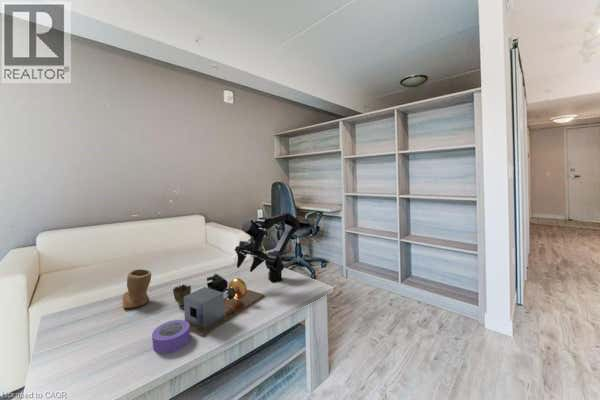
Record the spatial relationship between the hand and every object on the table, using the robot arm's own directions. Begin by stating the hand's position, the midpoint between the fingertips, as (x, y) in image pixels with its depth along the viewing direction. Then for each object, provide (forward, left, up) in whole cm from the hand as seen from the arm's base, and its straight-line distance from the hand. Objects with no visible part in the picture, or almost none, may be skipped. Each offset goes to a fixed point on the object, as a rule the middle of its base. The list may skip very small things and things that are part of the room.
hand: (243, 269), depth 124 cm
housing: (+11, +9, -13) cm, 19 cm away
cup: (+27, -5, -13) cm, 31 cm away
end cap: (+10, -13, -13) cm, 21 cm away
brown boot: (+45, -19, -13) cm, 51 cm away
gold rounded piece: (+11, +9, -11) cm, 18 cm away
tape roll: (+33, +22, -13) cm, 42 cm away
